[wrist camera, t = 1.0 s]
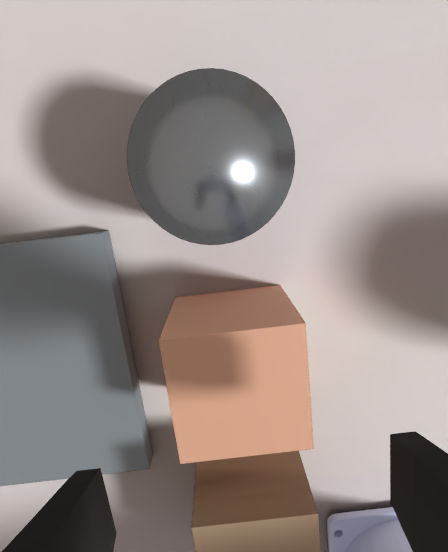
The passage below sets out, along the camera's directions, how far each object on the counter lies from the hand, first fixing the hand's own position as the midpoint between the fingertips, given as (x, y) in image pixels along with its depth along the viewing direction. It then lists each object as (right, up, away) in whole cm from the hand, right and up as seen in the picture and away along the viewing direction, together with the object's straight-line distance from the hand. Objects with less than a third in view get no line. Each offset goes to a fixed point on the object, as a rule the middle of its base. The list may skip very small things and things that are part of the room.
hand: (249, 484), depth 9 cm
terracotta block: (0, +2, +9) cm, 9 cm away
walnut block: (+1, -6, +10) cm, 12 cm away
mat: (-11, +1, +9) cm, 14 cm away
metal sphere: (-1, +10, +7) cm, 12 cm away
